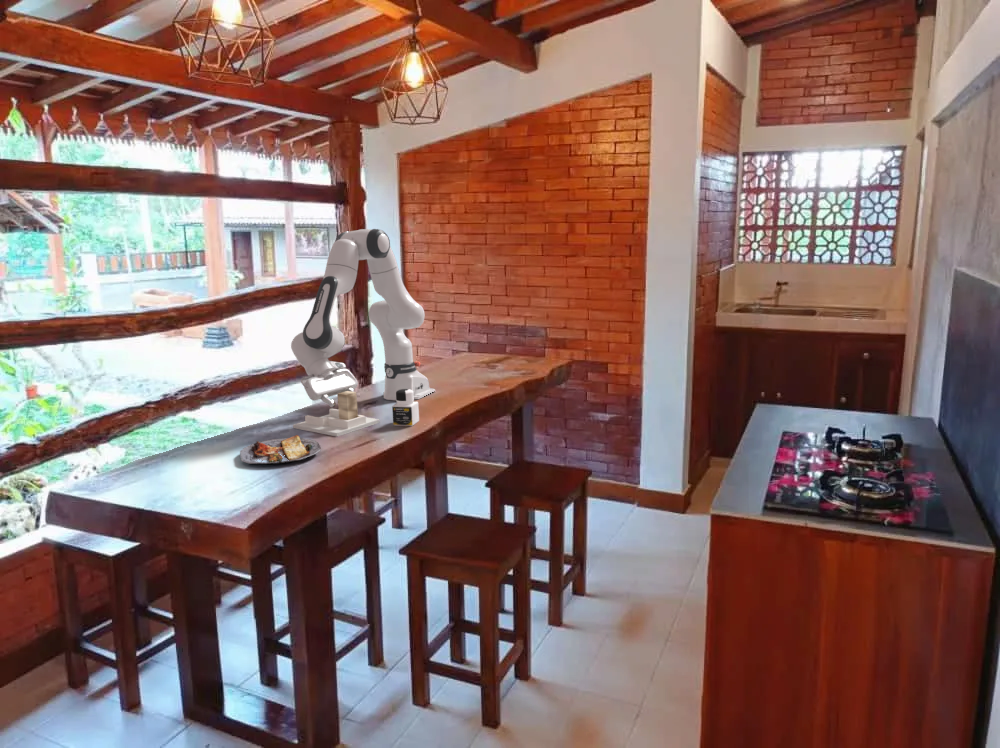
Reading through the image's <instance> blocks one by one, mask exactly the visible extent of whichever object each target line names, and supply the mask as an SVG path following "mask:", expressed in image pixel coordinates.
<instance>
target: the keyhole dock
mask: <svg viewBox="0 0 1000 748" xmlns="http://www.w3.org/2000/svg"><path fill="white" fill-rule="evenodd" d="M304 419H305V421H302V422H298V423H297V422H296V423H294V424H293V425H292V426H293V429H297V430H301V431H307V432H311V433H318V434H322V435H326V436H327V435H328V436H330V437H331V436H332V437H337V438H338V437H341V436H343V435H346V434H350V433H352V432H356V431H359V430H361V429H366V428H368V427H370V426H374V425H376V424H377V425H378V424H380V423H381V422H380V421H381V420H380V419H379V418H374V417H373V418H372V417H367V416H366V415H361V414H358V417H357V418H354V419H350V420H343V419H339V409H337V408H333V407H330V408H329V413H328V414H326V415H322V416H313V415H305V416H304Z"/></svg>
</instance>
